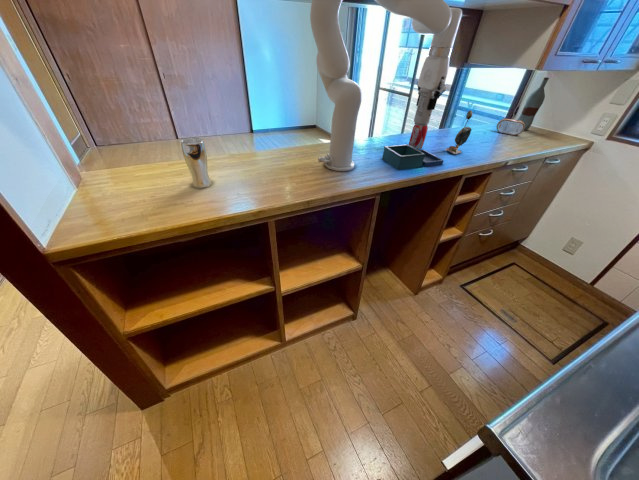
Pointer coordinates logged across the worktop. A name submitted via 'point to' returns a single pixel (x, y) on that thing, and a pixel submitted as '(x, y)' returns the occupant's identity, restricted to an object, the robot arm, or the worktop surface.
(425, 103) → the energy drink can
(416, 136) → the soda can
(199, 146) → the beer glass
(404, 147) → the basket
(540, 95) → the bottle
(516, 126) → the tin
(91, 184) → the worktop surface
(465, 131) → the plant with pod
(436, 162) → the tray
